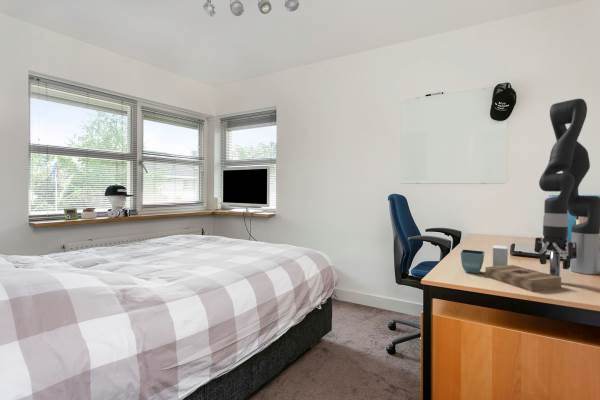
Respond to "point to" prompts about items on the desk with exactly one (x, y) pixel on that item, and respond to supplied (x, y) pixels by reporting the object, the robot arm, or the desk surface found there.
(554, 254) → the peg
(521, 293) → the desk surface
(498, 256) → the small box
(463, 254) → the flower pot
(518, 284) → the hole block
